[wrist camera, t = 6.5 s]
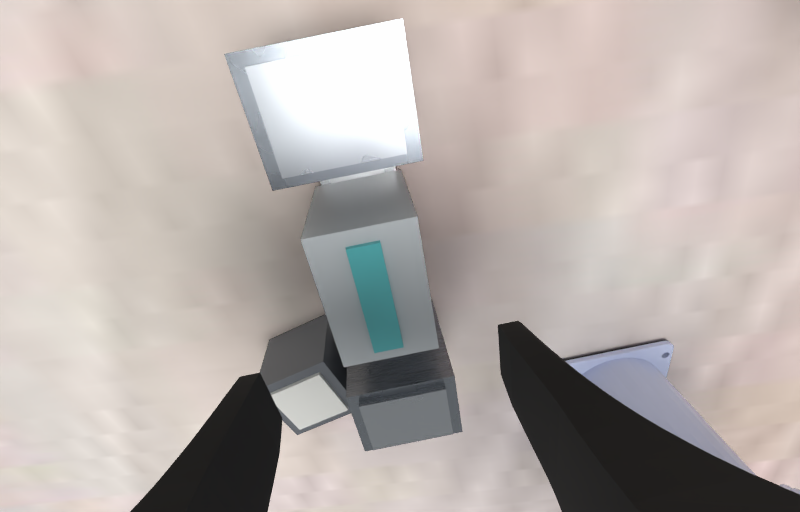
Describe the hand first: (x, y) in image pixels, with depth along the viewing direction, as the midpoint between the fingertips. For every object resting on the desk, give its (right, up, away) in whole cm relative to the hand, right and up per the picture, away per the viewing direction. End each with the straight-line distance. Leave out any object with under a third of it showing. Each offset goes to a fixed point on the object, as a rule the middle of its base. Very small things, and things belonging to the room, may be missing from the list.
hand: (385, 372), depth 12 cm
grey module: (-1, +5, +8) cm, 9 cm away
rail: (-1, +5, +9) cm, 10 cm away
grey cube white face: (-5, -2, +12) cm, 13 cm away
